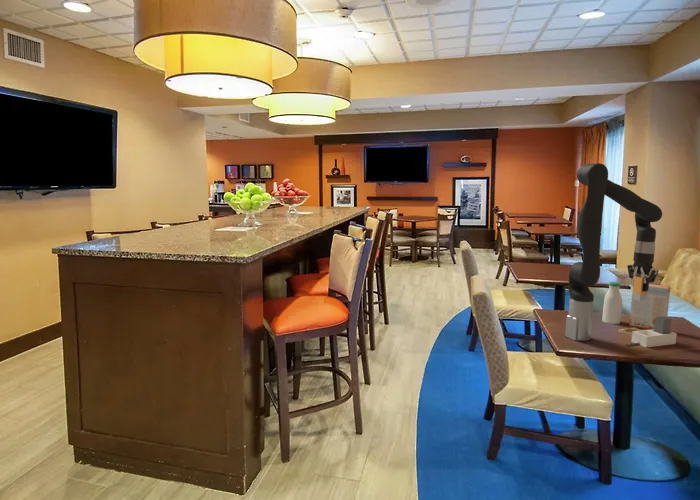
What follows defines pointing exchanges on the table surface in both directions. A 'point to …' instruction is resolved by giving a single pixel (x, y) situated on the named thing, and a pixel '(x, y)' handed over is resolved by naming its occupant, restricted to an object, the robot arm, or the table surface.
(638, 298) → the plug
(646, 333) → the strip
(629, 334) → the tray
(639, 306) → the cracker box
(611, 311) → the milk bottle
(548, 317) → the table surface
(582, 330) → the robot arm
